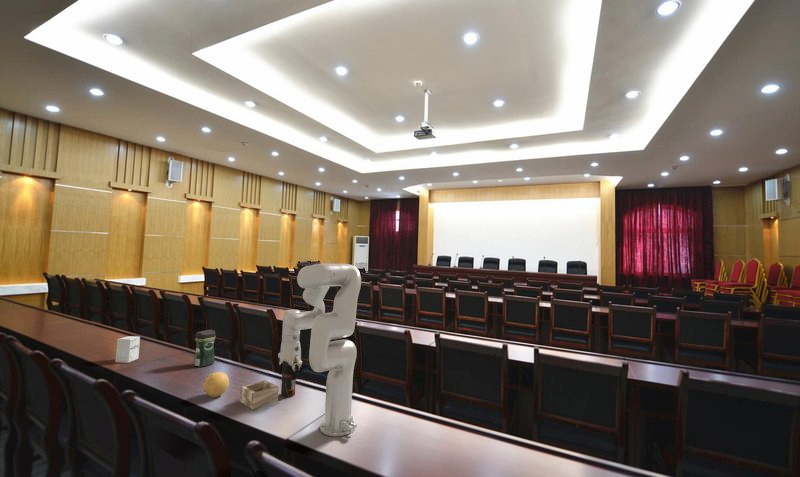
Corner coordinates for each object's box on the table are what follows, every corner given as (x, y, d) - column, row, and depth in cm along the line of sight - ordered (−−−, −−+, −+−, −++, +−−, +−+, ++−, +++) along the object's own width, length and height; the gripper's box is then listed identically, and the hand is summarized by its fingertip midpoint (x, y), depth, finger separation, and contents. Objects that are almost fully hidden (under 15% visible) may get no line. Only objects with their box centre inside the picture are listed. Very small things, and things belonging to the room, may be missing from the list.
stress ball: (228, 393, 154) (215, 376, 156) (237, 380, 150) (223, 363, 153) (208, 405, 145) (194, 387, 147) (216, 392, 141) (203, 373, 144)
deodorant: (290, 398, 149) (292, 363, 149) (278, 396, 150) (280, 362, 151) (297, 393, 155) (299, 359, 155) (285, 391, 156) (287, 358, 156)
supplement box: (128, 363, 186) (130, 339, 186) (114, 362, 186) (116, 338, 186) (138, 358, 193) (140, 336, 194) (126, 358, 193) (127, 335, 194)
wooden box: (277, 401, 146) (278, 386, 146) (252, 409, 137) (253, 394, 137) (264, 393, 153) (264, 380, 153) (239, 401, 144) (240, 386, 144)
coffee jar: (208, 361, 194) (210, 328, 195) (216, 363, 190) (218, 330, 191) (190, 365, 185) (192, 330, 186) (199, 368, 181) (201, 333, 182)
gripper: (309, 340, 151) (307, 379, 150) (287, 332, 162) (285, 369, 161) (294, 343, 145) (292, 384, 144) (272, 335, 156) (270, 373, 155)
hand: (288, 376), depth 153 cm, fingers open, 9 cm apart
